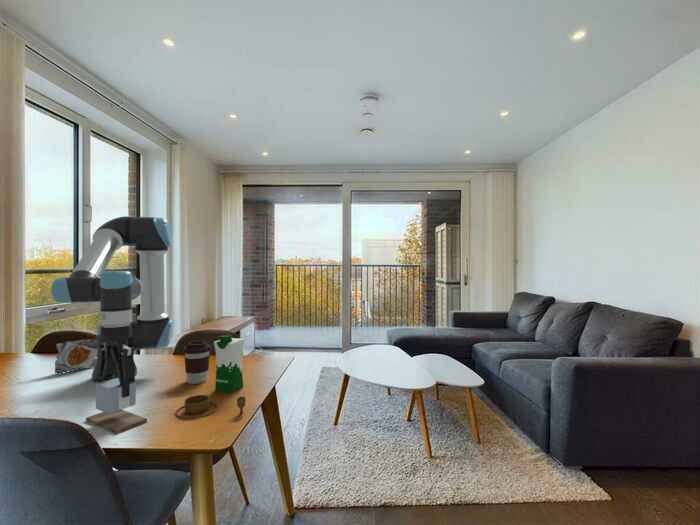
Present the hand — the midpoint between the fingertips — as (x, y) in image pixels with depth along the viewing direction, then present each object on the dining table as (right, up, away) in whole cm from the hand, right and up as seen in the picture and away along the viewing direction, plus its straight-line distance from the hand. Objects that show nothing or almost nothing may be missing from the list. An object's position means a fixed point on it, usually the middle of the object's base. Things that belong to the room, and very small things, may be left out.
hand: (116, 405), depth 99 cm
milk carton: (+23, -6, +27) cm, 36 cm away
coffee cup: (+7, -6, +36) cm, 37 cm away
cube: (0, 0, 0) cm, 0 cm away
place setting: (+23, -6, +6) cm, 24 cm away
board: (0, -6, 0) cm, 6 cm away
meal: (-49, -6, +48) cm, 69 cm away
